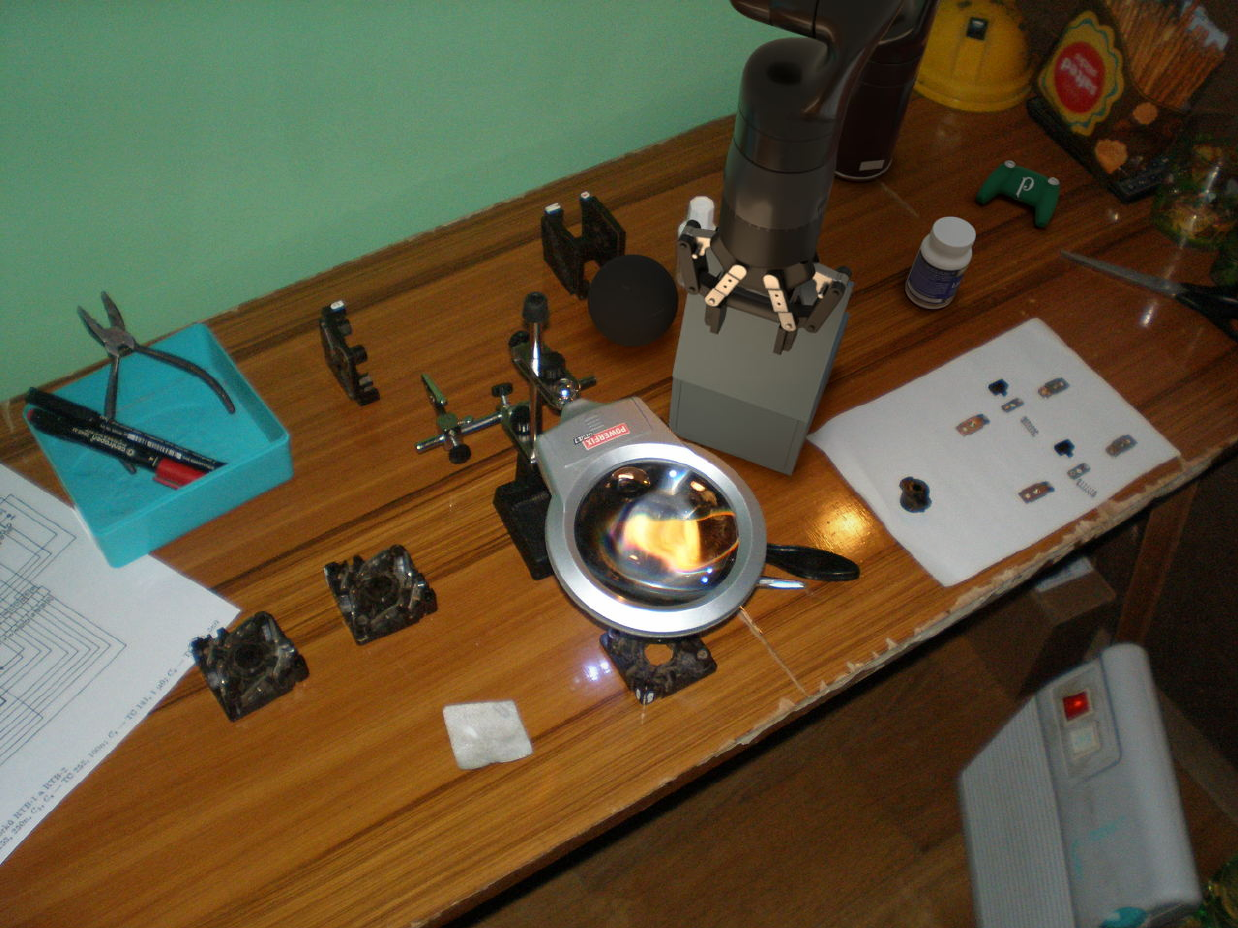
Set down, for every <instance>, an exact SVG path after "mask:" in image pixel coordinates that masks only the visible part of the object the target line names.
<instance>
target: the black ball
mask: <svg viewBox="0 0 1238 928" xmlns="http://www.w3.org/2000/svg"><path fill="white" fill-rule="evenodd" d="M676 284H677V283H676V282H675V279H674V277H673V276H672V274H671V273H670V271H669V270H668V269H667V268H666V266H664V265H663V264H662V263H660V262H659V261H657V260H656V259H654V258H652V257H650V256H647V255H643V254H635V253H634V254H633V253H632V254H631V253H630V254H623V255H620V256H617V257H614V258H613V259H611V260H609V261H607V262H606V263H605V264H603V265H602V266H600V268H599V269H598V270H597V271H596V273H595V274H594V276H593V278H592V280H591V282H590V284H589V287H588V291H587V300H586V301H587V311H588V314H589V317H590V320H591V321H592V324H593V325H594V326H595V329H596V330H597V331H598V332H599V333H600V334H601V335H602V336H603V337H604V338H605V339H607V340H608V341H610V342H612V343H614V344H615V345H619V346H623V347H628V348H629V347H631V348H636V347H642V346H647V345H650V344H652V343H654V342H656V341H658V340H659V339H660V338H661V337H663V336H664V335H665V334H666V333H667V332H668V331H669V330H670V328H671V326H672V325H673V323H674V321H675V320H676V318H677V317H676V316H677V314H678V310H679V304H680V303H679V299H680V298H679V291H678V287H677V285H676Z"/></svg>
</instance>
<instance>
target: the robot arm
mask: <svg viewBox="0 0 1238 928" xmlns="http://www.w3.org/2000/svg"><path fill="white" fill-rule="evenodd" d="M941 1H942V0H728V2H729V4H730V5H731V7H732V8H733V9H734V10H735V11H736V12H737V13H739V14H740V15H741V16H743V17H745V18H747V19H750V20H752V21H755V22H758V23H762V24H765V25H767V26H770V27H773V28H777V29H780V30H783V31H786V32H790V33H793V34H796V35H799V36H800V37H799V36H796V37H795V36H794V37H793V36H789V37H782V38H775V39H773V40H769V41H766V42H764V43H763V44H760V45H759V46H758V47H757V48H756V49H754V50H753V51H752V53H751V54H750V55H749V57H748V58H747V60H746V62H745V64H744V67H743V70H742V74H741V77H740V81H739V82H740V83H739V89H738V97H737V107H736V115H735V121H734V129H733V130H734V131H733V134H732V138H731V141H730V145H729V148H728V152H727V155H726V162H725V166H724V167H723V174H722V184H723V185H722V193H721V200H720V208H719V215H718V223H717V226H716V227H715V229H707V228H702V225H701V223H700V222H699V221H698V220H696V219H689V220H687V221H686V223H685V226H684V227H683V229H682V231H681V232H680V234H679V237H678V239H677V241H676V242H675V247H676V250H677V256H678V261H679V266H680V270H681V276H682V280H683V281H682V282H683V285H684V290H685V291H686V293H687V294H688V293H689V294H691V295H697V294H698V293H699V294H701V295H702V296H703V297H704V298H705V302H706V311H705V319H704V321H705V323H706V325H708V326H710V332H711V333H714V334H717V335H718V333H719V331H720V329H721V327H722V325H723V323H724V320H725V317H726V312H727V306H726V300H727V297H728V294H729V293H730V292H731V291H732V290H733V288H734V287H735V286H738V287H741V288H744V289H751V290H756V291H758V292H760V293H761V294H763V295H766V296H769V297H770V299H771V302H772V306H773V309H774V312H778V315H779V318H780V322H781V323H780V326H779V328H778V332H777V337H776V341H775V345H774V350H773V353H775V354H778V355H781V354H782V352H783V350H784V351H787V352H788V351H790V350H791V348H792V346H793V344H794V341H795V339H796V336H797V332H798V328H805V330H806V331H807V332H810V333H817V332H818V331H819V329H820V328H821V326H822V325H823V324H824V322H825V321H826V319H827V318H828V317H829V315H830V314H831V313H832V311H833V310H834V308H835V307H836V306H837V304H838V303H839V301H840V300H841V299H842V297H843V295H844V292H845V290H846V287H847V285H848V282H849V281H851V277H852V275H853V271H852V269H851V268H850V267H849V266H847V265H840V266H837V268H836V269H833V268H831V267H829V266H827V265H825V264H822V263H821V260H820V259H821V258H820V256H819V254H818V250H817V246H818V243H819V239H820V234H821V231H822V226H823V223H824V219H825V215H826V212H827V207H828V204H829V199H830V195H831V191H832V188H833V184H834V183H833V182H834V180H835V177H837V178H839V179H841V180H843V181H848V182H854V183H865V182H871V181H874V180H877V179H879V178H880V177H882V176H884V175H885V174H886V173H887V172H888V170H889V169H890V167H891V164H892V161H893V157H894V152H895V149H896V145H897V142H898V139H899V136H900V133H901V130H902V127H903V124H904V120H905V118H906V114H907V112H908V111H907V110H908V108H909V105H910V101H911V98H912V95H913V92H914V89H915V86H916V82H917V79H918V76H919V73H920V69H921V66H922V63H923V60H924V57H925V53H926V51H927V47H928V43H929V41H930V36H931V33H932V30H933V27H934V23H935V19H936V17H937V13H938V12H939V11H938V10H939V7H940V4H941V3H942V2H941ZM801 36H802V37H801ZM708 247H710V248H711V250H712V252H713V253H714V255H715V257H716V258H717V260H718V261H719V263H720V264H721V266H722V267H723V268H722V269H721V271H720V272H719V273H718V274H717V276H716V277H715V276H713V275H712V274H710V273H709V268H708V262H707V257H706V250H707V248H708ZM811 279H814V280H815V281H816V283H817V286H816V291H817V292H818V297H817V299H816V300H815V302H814V303H813V305H804V301H803V297H802V293H801V286H802V284H804V283H806V282H808V281H810V280H811Z"/></svg>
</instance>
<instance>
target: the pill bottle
mask: <svg viewBox="0 0 1238 928" xmlns="http://www.w3.org/2000/svg"><path fill="white" fill-rule="evenodd" d="M976 236H977V235H976V230H975V228H974V226H973V225H971V223H969V222H968V221H967V220H965V219H963V218H961V217H957V216H944V217H941V218H939V219H937V220H935V222H934V224H933V226H932V228H931V229H930V233H929V234H926V236H925V237H924V238H923V240H922V242H921V244H920V246H919V249H918V251H917V253H916V256H915V258H914V262H913V263H912V266H911V269H910V271H909V274H908V277H907V279H906V281H905V287H904V288H905V292H906V295H907V297H908V299H909V300H911V302H912V303H914V304H915V305H917V306H918V307H921V308H924V309H927V310H928V309H929V310H939V309H943V308H946V306H948V305H949V304H951V302H952V301H953V300H954V298H955V295H956V293H957V291H958V289H959V287H960V284H961V282H962V280H963V278H964V276H965V273H966V271H967V269H968V267H969V265H970V263H971V261H972V257H973V249H972V247H973V246H974V243H975V240H976Z"/></svg>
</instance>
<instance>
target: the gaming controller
mask: <svg viewBox="0 0 1238 928" xmlns="http://www.w3.org/2000/svg"><path fill="white" fill-rule="evenodd" d="M1060 187H1061V185H1060V181H1059V179H1057V178H1056V177H1054V176H1051V177H1047V176H1046V175H1044V174H1041V173H1040V172H1037V171H1035V170H1032V169H1030V168H1026V167H1024V166H1021V165H1016V163H1015V162H1014V161H1013V160H1005V161H1004V162H1002V163H1001V164H999V165H998V166H997V167H996V168H995V169H994V170H993V171H992V172H991V173H990V174H989V175H988V176H987V178H986V179H985V181H984V182H983V183H982V184H981V186H980V187H979V190H978V191H977V194H976V196H975V201H976V202H978V204H979V203H980V204H982V205H985V204H987V203H988V202H990V201H991V200H993V199H994V198H995V197H996V196H998V195H1000V194H1001V195H1003V196H1005V197H1007V198H1011V199H1013V200H1015V201H1018V202H1021V203H1023V204H1026V205H1027V206H1029V207H1033V208H1034V226H1035V227H1038V228H1040V229H1045V228H1046V226H1047V225H1048V224H1049V222H1050V220H1051V219H1052V217H1053V214H1054V212H1055V210H1056V208H1057V205H1058V201H1059V198H1060V197H1059V196H1060Z"/></svg>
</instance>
